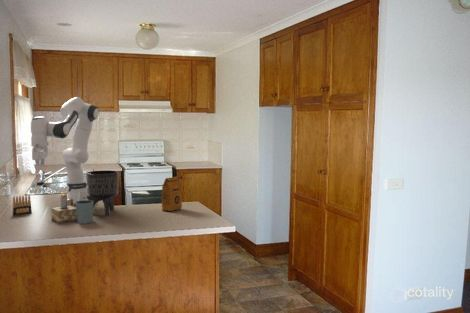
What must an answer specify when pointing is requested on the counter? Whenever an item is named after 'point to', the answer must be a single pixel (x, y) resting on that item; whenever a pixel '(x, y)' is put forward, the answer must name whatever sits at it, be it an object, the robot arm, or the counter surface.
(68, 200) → the thick bronze bit
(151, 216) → the counter surface
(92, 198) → the planter
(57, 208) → the socket block
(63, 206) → the steel bit
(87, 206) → the blue-grey cup
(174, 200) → the coffee package
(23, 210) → the ammunition clip
